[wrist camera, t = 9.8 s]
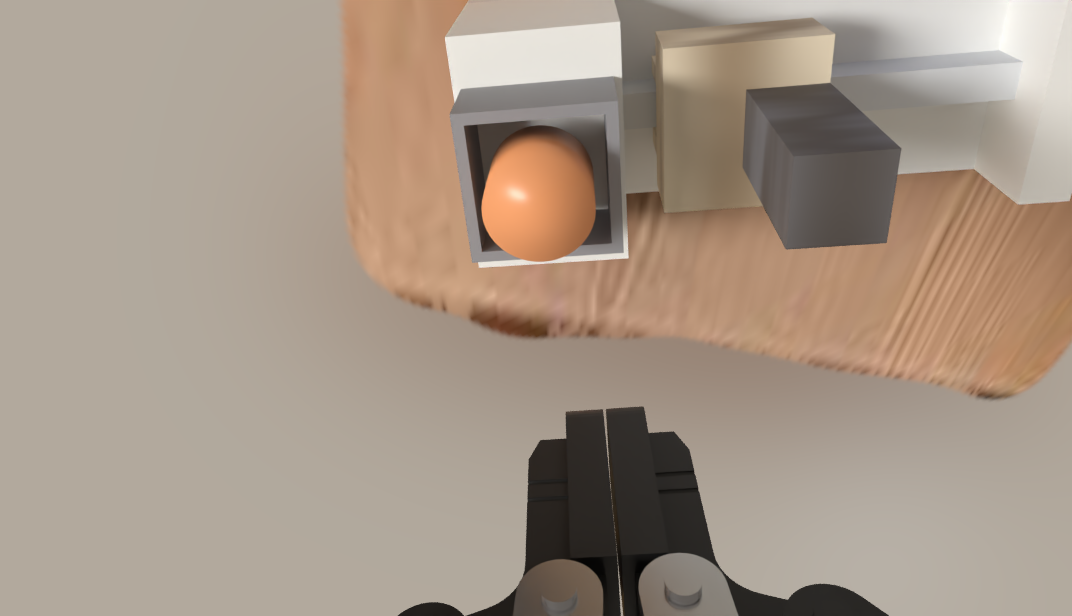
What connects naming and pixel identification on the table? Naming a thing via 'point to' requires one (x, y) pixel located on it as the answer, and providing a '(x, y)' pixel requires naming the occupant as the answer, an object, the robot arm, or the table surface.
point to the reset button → (539, 194)
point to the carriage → (769, 133)
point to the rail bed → (857, 72)
